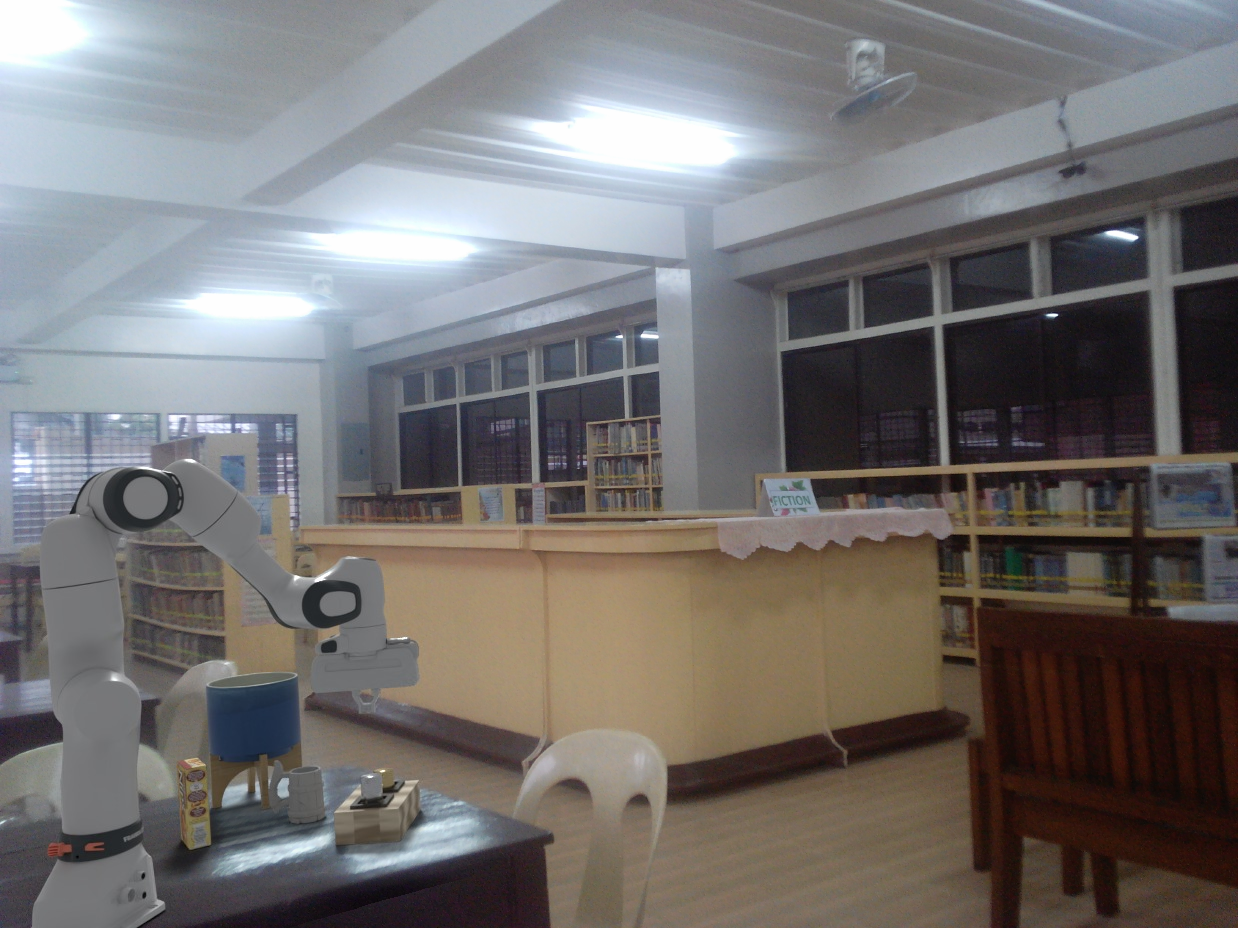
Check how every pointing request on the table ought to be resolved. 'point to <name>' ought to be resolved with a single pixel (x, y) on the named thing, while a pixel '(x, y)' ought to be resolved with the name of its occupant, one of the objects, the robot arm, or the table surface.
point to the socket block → (378, 815)
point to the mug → (299, 793)
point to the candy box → (193, 803)
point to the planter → (252, 729)
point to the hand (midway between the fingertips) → (367, 712)
